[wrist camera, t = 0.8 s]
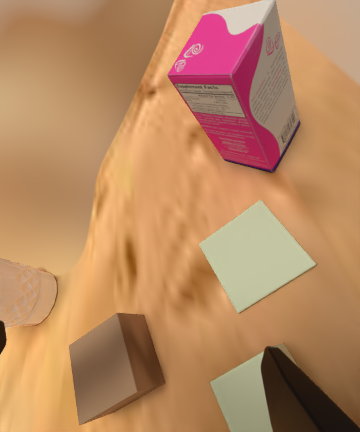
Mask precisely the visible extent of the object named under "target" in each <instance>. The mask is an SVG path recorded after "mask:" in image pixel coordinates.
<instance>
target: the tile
mask: <svg viewBox="0 0 360 432" xmlns="http://www.w3.org/2000/svg"><path fill="white" fill-rule="evenodd" d="M199 245H200V247H201V249H202V251H203V252H204V254H205V256H206V258H207V259H208V261H209V263H210V265H211V267H212V268H213V270H214V272H215V274H216V275H217V277H218V279H219V281H220V283H221V284H222V286H223V288H224V290H225V291H226V293H227V295H228V297H229V298H230V300H231V302H232V304H233V306H234V307H235V309H236V311H237V313H241V312H242V311H244V310H245V309H247V308H249V307H250V306H252V305H253V304H255V303H257V302H258V301H260V300H262V299H263V298H265V297H266V296H268V295H270V294H271V293H273V292H274V291H276V290H278V289H279V288H281V287H282V286H284V285H286V284H287V283H289V282H290V281H292V280H294V279H295V278H297V277H298V276H300V275H302V274H303V273H305V272H306V271H308V270H310V269H311V268H313V267H315V266H316V263H315V262H314V261H313V260H312V259H311V258H310V256H309V255H308V254H307V253H306V252H305V251H304V249H303V248H302V247H301V246H300V245H299V244H298V242H297V241H296V240H295V239H294V238H293V237H292V235H291V234H290V233H289V232H288V231H287V230H286V228H285V227H284V226H283V225H282V224H281V223H280V221H279V220H278V219H277V218H276V217H275V216H274V215H273V213H272V212H271V211H270V210H269V209H268V208H267V206H266V205H265V204H264V203H263V202H262V201H261V200H260V201H258V202H257V203H255V204H254V205H253V206H251V207H250V208H248V209H247V210H246V211H244V212H243V213H241V214H240V215H239V216H237V217H236V218H234V219H233V220H232V221H230V222H229V223H228V224H226V225H225V226H223V227H222V228H221V229H219V230H218V231H216V232H215V233H214V234H212V235H211V236H209V237H208V238H207V239H205V240H204V241H203V242H201V243H200V244H199Z"/></svg>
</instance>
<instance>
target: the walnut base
mask: <svg viewBox="0 0 360 432" xmlns="http://www.w3.org/2000/svg"><path fill="white" fill-rule="evenodd" d="M69 351H70V359H71V366H72V374H73V382H74V389H75V397H76V405H77V413H78V420H79V425H82V424H84V423H87V422H90V421H92V420H95V419H98V418H100V417H103V416H105V415H108V414H111V413H113V412H115V411H117V410H119V409H120V408H122V407H124V406H126V405H127V404H129V403H131V402H133V401H134V400H136V399H138V398H140V397H141V396H143V395H145V394H147V393H148V392H150V391H152V390H154V389H155V388H157V387H159V386H161V385H162V384H164V383H165V380H164V377H163V374H162V371H161V367H160V364H159V361H158V358H157V355H156V352H155V349H154V345H153V342H152V339H151V336H150V333H149V330H148V327H147V323H146V320H145V317H144V315H137V314H125V313H116V314H115V315H113V316H112V317H110V318H109V319H107V320H106V321H105V322H103V323H102V324H100V325H99V326H97V327H96V328H94V329H93V330H91V331H90V332H88V333H87V334H86V335H84V336H83V337H81V338H80V339H78V340H77V341H75V342H74V343H72V344H71V345H70V346H69Z"/></svg>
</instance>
